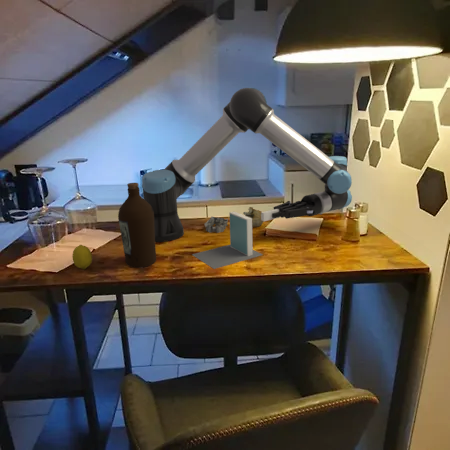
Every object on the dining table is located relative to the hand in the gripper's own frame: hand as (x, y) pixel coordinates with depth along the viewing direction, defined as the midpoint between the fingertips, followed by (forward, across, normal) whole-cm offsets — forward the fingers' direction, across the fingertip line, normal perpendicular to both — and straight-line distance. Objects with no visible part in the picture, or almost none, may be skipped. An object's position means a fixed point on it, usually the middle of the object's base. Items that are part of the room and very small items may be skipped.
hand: (262, 216), depth 133 cm
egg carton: (+2, +26, -11) cm, 29 cm away
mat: (+14, 0, -10) cm, 18 cm away
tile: (+9, 0, -10) cm, 13 cm away
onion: (-11, +20, -11) cm, 25 cm away
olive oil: (+38, +13, -10) cm, 42 cm away
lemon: (+55, +18, -10) cm, 58 cm away
